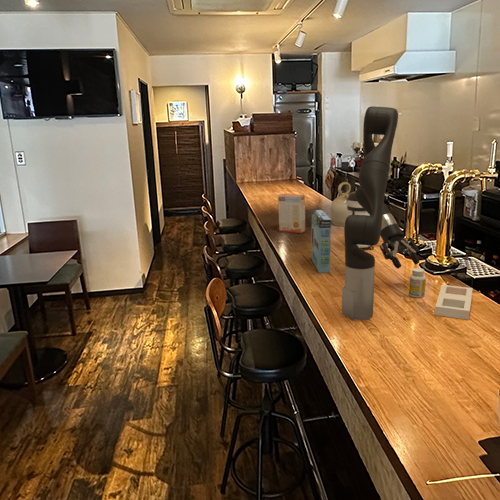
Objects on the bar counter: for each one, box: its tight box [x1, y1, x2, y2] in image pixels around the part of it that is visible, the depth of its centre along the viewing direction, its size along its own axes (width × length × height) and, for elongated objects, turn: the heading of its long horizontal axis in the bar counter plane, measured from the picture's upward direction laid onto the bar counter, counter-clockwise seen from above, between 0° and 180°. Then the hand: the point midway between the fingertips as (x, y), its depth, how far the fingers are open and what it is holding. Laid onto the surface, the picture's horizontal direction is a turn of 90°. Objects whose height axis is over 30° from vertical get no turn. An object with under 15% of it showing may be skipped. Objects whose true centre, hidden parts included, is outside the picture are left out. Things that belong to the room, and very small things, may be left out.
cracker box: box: [277, 193, 306, 234], centre depth 260 cm, size 14×6×21 cm, turn 58°
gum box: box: [310, 209, 332, 274], centre depth 199 cm, size 20×5×23 cm, turn 2°
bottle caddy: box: [434, 284, 473, 321], centre depth 156 cm, size 21×10×3 cm, turn 153°
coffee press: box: [344, 191, 381, 251], centre depth 222 cm, size 17×16×30 cm
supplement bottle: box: [408, 267, 427, 299], centre depth 165 cm, size 5×5×10 cm
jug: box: [330, 181, 352, 227], centre depth 271 cm, size 15×16×25 cm
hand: (408, 265), depth 167 cm, fingers open, 8 cm apart
